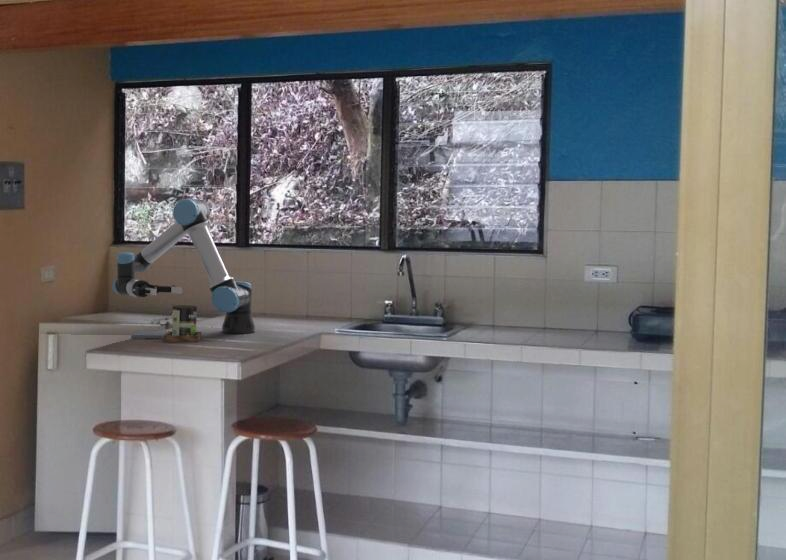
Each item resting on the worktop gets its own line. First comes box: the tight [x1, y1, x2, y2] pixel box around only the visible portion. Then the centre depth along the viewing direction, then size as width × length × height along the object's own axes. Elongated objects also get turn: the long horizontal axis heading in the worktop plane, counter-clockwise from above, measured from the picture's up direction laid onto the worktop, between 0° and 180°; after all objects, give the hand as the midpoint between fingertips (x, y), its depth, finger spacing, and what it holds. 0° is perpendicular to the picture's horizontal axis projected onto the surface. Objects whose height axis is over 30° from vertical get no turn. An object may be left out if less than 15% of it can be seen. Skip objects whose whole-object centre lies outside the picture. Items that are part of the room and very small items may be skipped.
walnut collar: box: [163, 331, 203, 343], centre depth 392 cm, size 14×14×2 cm
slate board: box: [130, 330, 167, 340], centre depth 399 cm, size 13×13×2 cm
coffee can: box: [171, 304, 198, 336], centre depth 392 cm, size 10×10×14 cm
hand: (168, 291), depth 397 cm, fingers open, 13 cm apart
